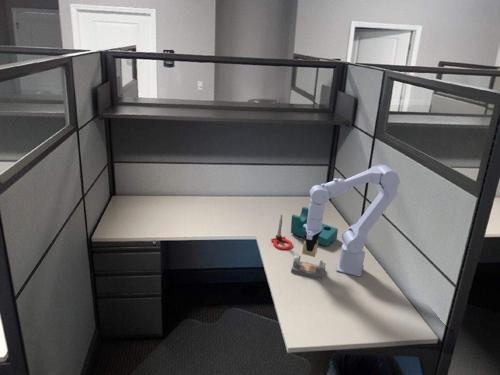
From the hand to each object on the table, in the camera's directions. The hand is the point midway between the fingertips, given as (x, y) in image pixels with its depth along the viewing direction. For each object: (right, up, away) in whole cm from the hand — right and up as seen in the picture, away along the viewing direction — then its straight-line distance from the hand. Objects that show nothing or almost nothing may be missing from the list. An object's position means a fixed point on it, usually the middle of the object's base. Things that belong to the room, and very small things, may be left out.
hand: (310, 248), depth 158 cm
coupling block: (0, -2, +1) cm, 2 cm away
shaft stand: (-1, -9, 0) cm, 9 cm away
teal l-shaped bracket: (+5, +1, +28) cm, 28 cm away
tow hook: (-10, -2, +19) cm, 21 cm away
